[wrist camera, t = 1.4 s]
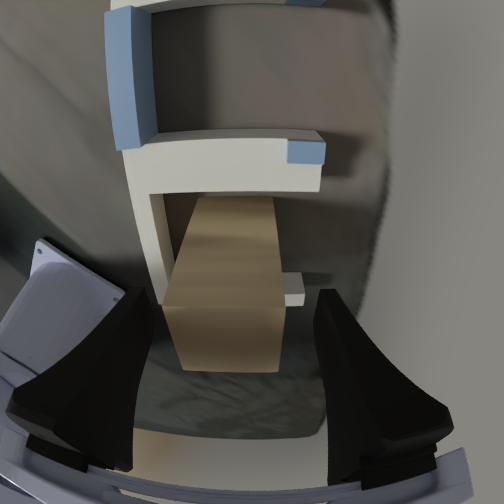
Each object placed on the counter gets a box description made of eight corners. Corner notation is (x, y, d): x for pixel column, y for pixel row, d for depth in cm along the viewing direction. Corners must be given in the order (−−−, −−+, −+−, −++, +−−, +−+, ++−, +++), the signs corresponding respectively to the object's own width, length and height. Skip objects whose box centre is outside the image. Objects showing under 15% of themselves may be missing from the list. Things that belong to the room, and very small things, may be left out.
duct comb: (299, 283, 19) (304, 313, 17) (165, 283, 19) (156, 311, 17) (318, -10, 9) (332, -24, 7) (128, 1, 9) (104, -7, 7)
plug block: (270, 256, 18) (278, 372, 11) (205, 256, 18) (183, 370, 12) (272, 196, 16) (285, 308, 9) (198, 197, 16) (161, 306, 9)
